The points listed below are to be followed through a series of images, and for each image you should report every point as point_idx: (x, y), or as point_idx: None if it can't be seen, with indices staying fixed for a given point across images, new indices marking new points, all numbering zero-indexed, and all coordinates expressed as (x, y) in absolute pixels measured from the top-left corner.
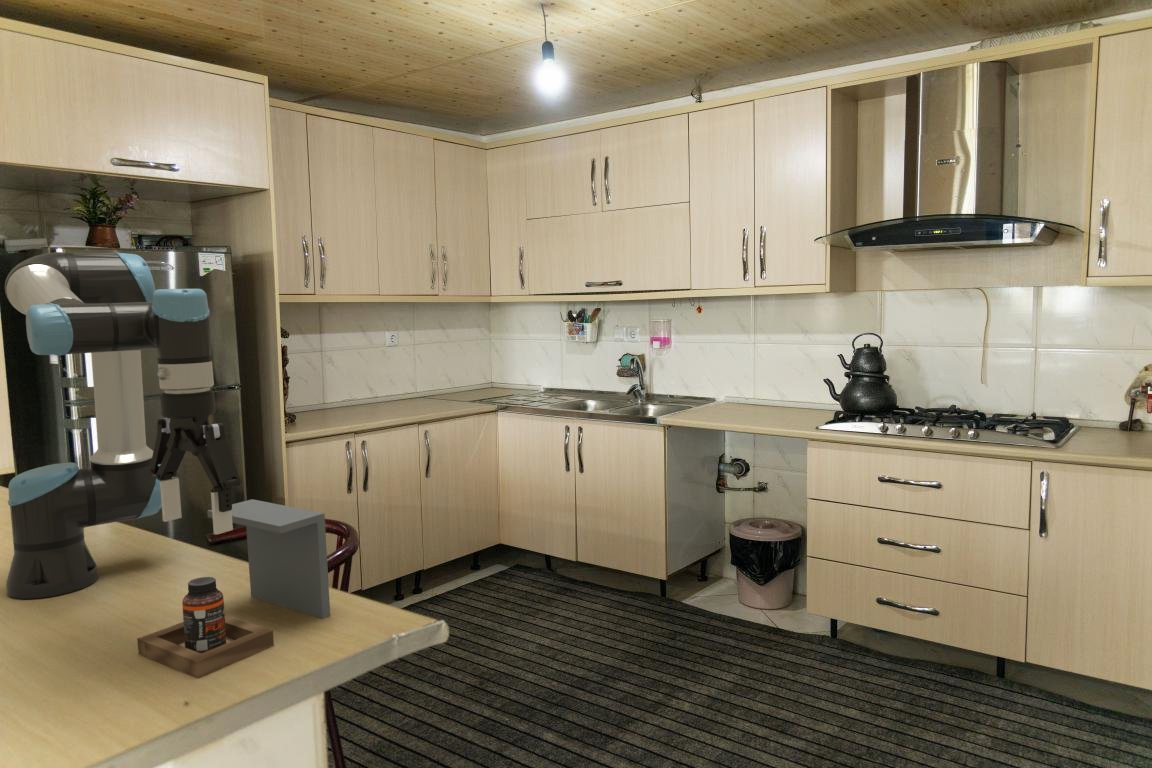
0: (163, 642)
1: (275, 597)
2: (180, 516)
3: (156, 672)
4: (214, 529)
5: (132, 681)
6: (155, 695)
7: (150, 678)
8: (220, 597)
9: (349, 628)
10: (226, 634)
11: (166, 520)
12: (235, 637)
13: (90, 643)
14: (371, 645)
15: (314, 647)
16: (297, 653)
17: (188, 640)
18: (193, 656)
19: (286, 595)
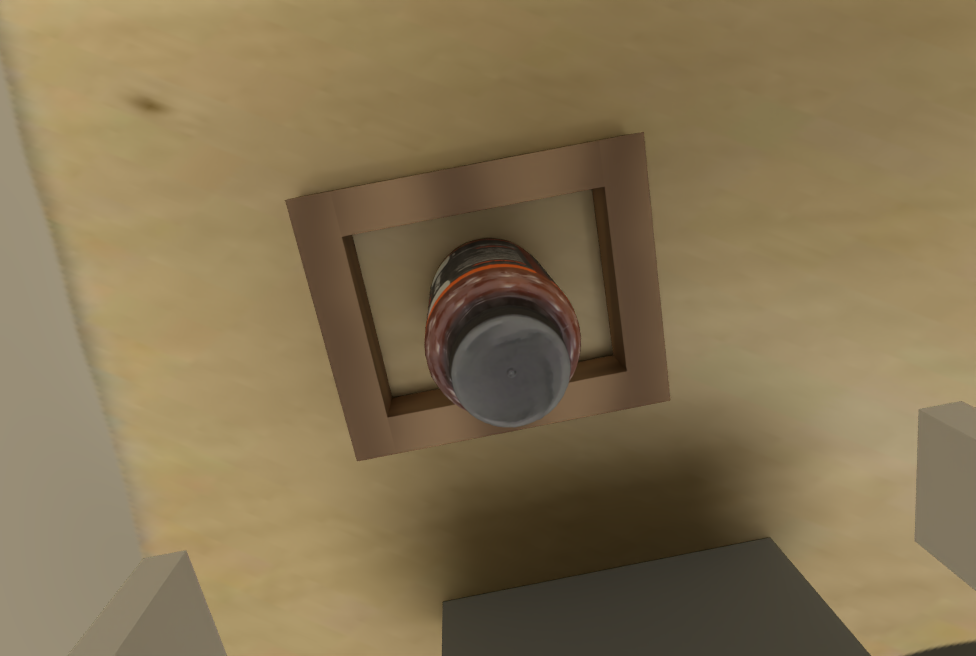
0: (534, 183)
1: (659, 575)
2: (924, 540)
3: (440, 123)
4: (151, 581)
5: (431, 42)
6: (272, 57)
7: (410, 92)
8: (444, 394)
9: (320, 617)
10: None
11: (927, 422)
12: None
13: (849, 51)
14: None
15: (265, 505)
16: (260, 459)
17: (477, 246)
18: (337, 209)
19: (610, 598)
